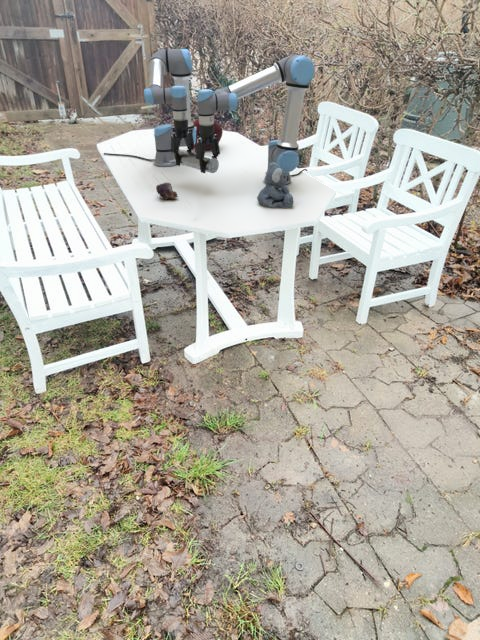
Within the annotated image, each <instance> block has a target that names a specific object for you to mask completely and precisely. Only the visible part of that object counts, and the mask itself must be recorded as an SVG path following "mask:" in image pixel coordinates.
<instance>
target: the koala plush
mask: <svg viewBox="0 0 480 640" xmlns="http://www.w3.org/2000/svg"><path fill="white" fill-rule="evenodd" d="M267 169H268V168H267ZM266 172H267V171H266ZM288 179H289V178H288V176H286V174H285V172H284V171H283V169H282V168H281V167H280V166H277V165H276V163H271V164H270V165H269V169H268V172H267V176H266V183H265V186H264V187H263V188H262V189H261V190H260V191H259V192H258V195H257V197H256V200H257V202H258V203H259V204H260V205H264V207H267V208H282V209H284V208H286V209H287V208H291V207H294V197H293V194H292V193H290V190H289V188H288V186H287V185H285V183H286V182H287V181H288Z"/></svg>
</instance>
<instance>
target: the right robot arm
mask: <svg viewBox="0 0 480 640" xmlns="http://www.w3.org/2000/svg"><path fill="white" fill-rule="evenodd" d="M315 67H316V66H315V64H314V62H313V61H312V59H311V58H309V57H307V56H306V55H300V54H296V53H293V54H290V55H288V56H286V57H284V58H282V59H280V60H277V61H276V62H274V63H273V65H272V66H270V67H268V68H265V69H263V70H261V71H259V72H257V73H255V74H252V75H250V76H248V77H246V78H243V79H240V80H239V81H237V82H234V83H232V84H230V85H228V86H226V87H223V88H218V89H216V90H215V91H214V90H212V89H210V88H209V89H207V88H205V89H199V90H198V91H197V100H196V101H197V111H198V112H197V113H198V120H199V124H200V125H199V132H200V134H201V136H200V138H199V139H196V143H197V144H196V152H195V153H196V159H198V160H199V164H200V168H201V170H200V173H201V174H206V171H205V160H203V159H204V155H205V154H206V151H207V150H206V147H207V145H208V144H209V146H210V149H209V150H210V151H211V154H212V155H211V157H214V158H216V159H217V160H218V157H220V154H221V150H220V146H219V143H220V142H219V143H218V135H216V134H213V133H214V125H213V124H214V121H215V115H214V112H225V111H226V112H227V111H229V112H232V111H236V110H238V106H239V99H242V98H245V97H247V96H249V95H252V94H254V93H256V92H258V91H260V90H262V89H265V88H267V87H269V86H272V85H274V84H276V83H279V84H282V83H284V82H285V87H286V89H287V94H286V100H285V107H284V114H283V119H282V120H283V121H282V126H281V134H280V139H273V140H269V142H268V146H267V169H266V171H265V176H264V177H263V178H264V184H266V176H267V172H268V169H269V165H270V164H271V163H276V165H277V166H280V167H281V168H282V169H283V171H284V172H285V174H286V176H288V178H289V179H288V181H287V182H286V183H285V185H286V186H287V185H290V184H291V180H292V177H295V176H299V175H300V174H301V173H302V172H304V171H306V172H308V169H306V168H304V169H302V170H300V171H299V172H298V173H295V174H290V173H291V172H293V171H295V170H296V168H298V166H299V163H300V157H299V148H300V146H299V144H298V142H297V141H298V136H299V129H300V124H301V118H302V111H303V106H304V101H305V94H306V92H307V91H308V90H310V85H311V84H310V83H311V82H312V81H313V79H314V77H315V72H316V68H315ZM204 144H205V145H204ZM285 185H284V186H285Z"/></svg>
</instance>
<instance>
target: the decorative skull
mask: <svg viewBox="0 0 480 640" xmlns="http://www.w3.org/2000/svg"><path fill="white" fill-rule="evenodd" d="M193 123H194V126H195V127H196V139H199V138H200V136H201V134H200V132H199V125H200V124H199V119H197V120H195V121H194V122H193ZM213 125H214V133H213V134H216V135H218V143H220V141H221V140H222V137H223V133H224V132H223V128H222V126H221V125H220V124H219V123H218V122H217V121H216V120H214V124H213ZM196 144H197V143H195V145H194V146H195V148H194V153H196ZM204 145H205V144H204ZM207 150H211V149H210V146H209V144H208V145H207V147H206V150H205V151H207Z"/></svg>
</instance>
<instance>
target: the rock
mask: <svg viewBox="0 0 480 640" xmlns="http://www.w3.org/2000/svg"><path fill="white" fill-rule="evenodd" d="M155 186H156V187H155V190H156V193H157V194H158V195H159V196H160V198H162V199H163V200H168V199H173V200H174V199H177V198H178V193H177V192H176V191H174V190H173V185H172V183H171V182H163V183H160V184H157V185H155Z"/></svg>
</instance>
